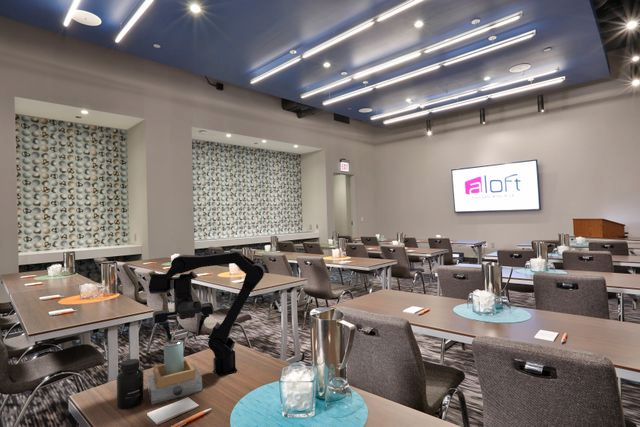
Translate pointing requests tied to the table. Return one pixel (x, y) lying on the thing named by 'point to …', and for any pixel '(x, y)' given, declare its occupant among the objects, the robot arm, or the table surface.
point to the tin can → (173, 357)
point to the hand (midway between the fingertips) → (184, 338)
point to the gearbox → (173, 383)
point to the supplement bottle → (130, 385)
